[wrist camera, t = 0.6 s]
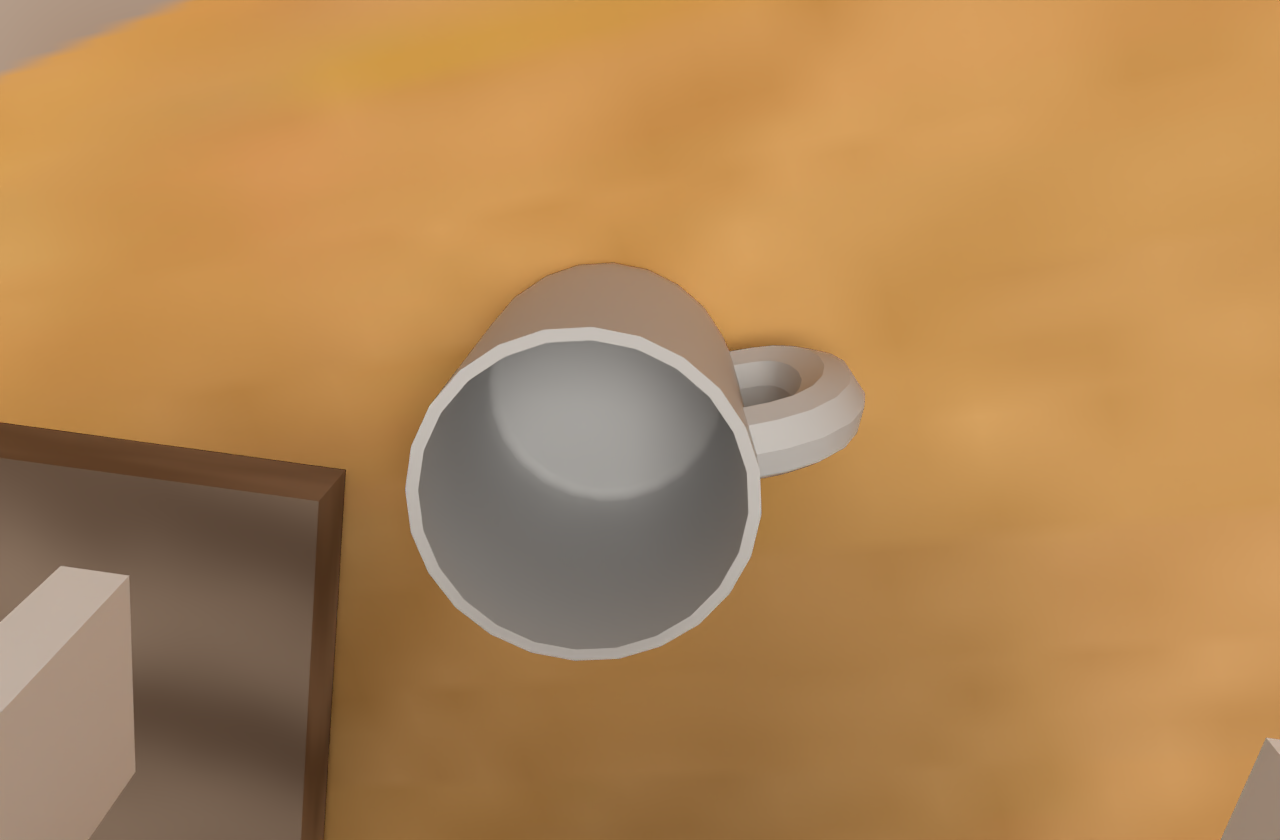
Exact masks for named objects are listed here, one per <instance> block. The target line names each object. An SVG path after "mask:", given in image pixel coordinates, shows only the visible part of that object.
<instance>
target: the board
mask: <svg viewBox="0 0 1280 840" xmlns="http://www.w3.org/2000/svg"><path fill="white" fill-rule="evenodd" d="M345 471H346V470H342V469H334V468H327V467H320V466H313V465H305V464H298V463H291V462H283V461H276V460H269V459H261V458H254V457H247V456H240V455H232V454H225V453H218V452H210V451H203V450H196V449H188V448H181V447H174V446H167V445H159V444H152V443H145V442H137V441H130V440H123V439H115V438H108V437H101V436H94V435H86V434H79V433H72V432H64V431H57V430H50V429H42V428H35V427H28V426H21V425H13V424H6V423H0V622H1V621H2V620H3V619H4V618H5V617H6V616H7V615H8V614H9V613H11V612H12V611H13V610H14V609H15V608H16V607H17V606H18V605H19V604H20V603H21V602H22V601H23V600H25V599H26V598H27V597H28V596H29V595H30V594H31V593H32V592H33V591H34V590H35V589H36V588H37V587H39V586H40V585H41V584H42V583H43V582H44V581H45V580H46V579H47V578H48V577H49V576H50V575H51V574H52V573H54V572H55V571H56V570H57V569H58V568H59V567H60V566H66V567H73V568H80V569H87V570H94V571H101V572H108V573H115V574H122V575H129V582H130V614H131V645H132V677H133V708H134V739H135V771H136V772H135V773H134V775H133V776H132V777H131V779H130V780H129V782H128V783H127V785H126V786H125V788H124V789H123V790H122V792H121V793H120V795H119V796H118V798H117V799H116V801H115V802H114V803H113V805H112V806H111V808H110V809H109V811H108V812H107V814H106V815H105V816H104V818H103V819H102V821H101V822H100V824H99V825H98V827H97V828H96V829H95V831H94V832H93V834H92V835H91V837H90V838H89V839H88V840H323V839H324V822H325V805H326V789H327V772H328V755H329V739H330V722H331V705H332V689H333V672H334V655H335V638H336V622H337V605H338V588H339V572H340V555H341V538H342V522H343V505H344V488H345Z"/></svg>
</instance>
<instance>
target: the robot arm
mask: <svg viewBox="0 0 1280 840" xmlns="http://www.w3.org/2000/svg"><path fill="white" fill-rule="evenodd" d="M135 772H136V771H135V739H134V708H133V677H132V645H131V614H130V582H129V575H122V574H115V573H108V572H101V571H94V570H87V569H80V568H73V567H66V566H60V567H59V568H58V569H57V570H56V571H55V572H54V573H52V574H51V575H50V576H49V577H48V578H47V579H46V580H45V581H44V582H43V583H42V584H41V585H40V586H39V587H37V588H36V589H35V590H34V591H33V592H32V593H31V594H30V595H29V596H28V597H27V598H26V599H25V600H23V601H22V602H21V603H20V604H19V605H18V606H17V607H16V608H15V609H14V610H13V611H12V612H11V613H9V614H8V615H7V616H6V617H5V618H4V619H3V620H2V621H1V622H0V840H88V839H89V838H90V837H91V835H92V834H93V832H94V831H95V829H96V828H97V827H98V825H99V824H100V822H101V821H102V819H103V818H104V816H105V815H106V814H107V812H108V811H109V809H110V808H111V806H112V805H113V803H114V802H115V801H116V799H117V798H118V796H119V795H120V793H121V792H122V790H123V789H124V788H125V786H126V785H127V783H128V782H129V780H130V779H131V777H132V776H133V775H134V773H135ZM1221 840H1280V740H1278V739H1271V738H1266V739H1265V742H1264V744H1263V746H1262V748H1261V751H1260V753H1259V755H1258V757H1257V760H1256V762H1255V764H1254V766H1253V769H1252V771H1251V773H1250V775H1249V777H1248V780H1247V782H1246V784H1245V786H1244V789H1243V791H1242V793H1241V795H1240V798H1239V800H1238V802H1237V804H1236V807H1235V809H1234V811H1233V813H1232V816H1231V818H1230V820H1229V822H1228V825H1227V827H1226V829H1225V831H1224V834H1223V836H1222V838H1221Z"/></svg>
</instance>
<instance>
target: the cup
mask: <svg viewBox="0 0 1280 840" xmlns="http://www.w3.org/2000/svg"><path fill="white" fill-rule="evenodd" d="M864 403H865V393H864V391H863V390H862V388H861V386H860V385H859V383H858V382H857V380H856V379H855V377H854V376H853V374H852V372H851V371H850V369H849V368H848V366H847V365H846V363H845V362H844V361H843V360H841V359H839V358H838V357H836V356H834V355H832V354H831V353H826V352H822V351H817V350H813V349H807V348H801V347H795V346H774V345H773V346H763V347H753V348H747V349H741V350H735V351H729V349H728V347H727V345H726V343H725V340H724V338H723V336H722V334H721V333H720V331H719V330H718V328H717V327H716V325H715V323H714V322H713V320H712V319H711V317H710V316H709V314H708V313H707V311H706V310H705V308H704V307H703V306H702V305H701V304H700V303H698V302H697V301H696V300H695V299H694V298H693V297H692V296H690V295H689V294H688V293H687V292H686V291H685V290H684V289H682V288H681V287H680V286H679V285H677V284H675V283H673V282H671V281H669V280H667V279H665V278H663V277H661V276H659V275H657V274H655V273H653V272H651V271H649V270H647V269H642V268H637V267H632V266H627V265H622V264H617V263H602V264H586V265H577V266H574V267H571V268H569V269H566V270H563V271H560V272H557V273H554V274H551V275H548V276H546V277H544V278H543V279H541V280H540V281H538V282H537V283H535V284H534V285H532V286H531V287H530V288H528V289H527V290H525V291H524V292H522V293H521V294H519V295H518V296H516V297H515V298H514V299H513V300H512V301H511V302H510V303H509V305H508V306H507V307H506V308H505V309H504V310H503V312H502V313H501V314H500V315H499V316H498V318H497V319H496V320H495V321H494V322H493V323H492V325H491V326H490V327H489V329H488V330H487V331H486V333H485V334H484V335H483V336H482V338H481V339H480V340H479V342H478V343H477V344H476V346H475V347H474V348H473V350H472V351H471V352H470V353H469V355H468V356H467V357H466V359H465V360H464V361H463V363H462V364H461V365H460V367H459V368H458V369H457V370H456V372H455V373H454V374H453V376H452V377H451V378H450V380H449V381H448V382H447V384H446V385H445V386H444V388H443V389H442V390H441V391H440V393H439V394H438V395H437V397H436V398H435V399H434V401H433V402H432V403H431V405H430V406H429V408H428V410H427V413H426V415H425V417H424V419H423V421H422V424H421V426H420V428H419V430H418V432H417V435H416V437H415V439H414V441H413V443H412V446H411V451H410V458H409V466H408V473H407V480H406V487H405V492H406V500H407V507H408V514H409V522H410V529H411V534H412V536H413V538H414V541H415V543H416V545H417V548H418V550H419V552H420V555H421V557H422V559H423V561H424V564H425V566H426V568H427V571H428V573H429V574H430V575H431V577H432V578H433V579H434V581H435V582H436V583H437V584H438V586H439V587H440V588H441V589H442V591H443V592H444V593H445V595H446V596H447V597H448V598H449V600H450V601H451V602H452V604H453V605H454V606H455V607H456V608H457V609H458V610H460V611H461V612H462V613H463V614H465V615H466V616H467V617H469V618H470V619H471V620H473V621H474V622H475V623H476V624H478V625H479V626H480V627H482V628H483V629H484V630H486V631H487V632H488V633H489V634H491V635H493V636H495V637H498V638H500V639H502V640H504V641H507V642H509V643H511V644H513V645H515V646H518V647H520V648H522V649H524V650H527V651H529V652H531V653H536V654H542V655H547V656H552V657H558V658H563V659H569V660H574V661H578V660H601V659H620V658H623V657H627V656H630V655H633V654H637V653H640V652H643V651H647V650H650V649H654V648H657V647H660V646H663V645H664V644H666V643H668V642H669V641H671V640H673V639H675V638H676V637H678V636H680V635H682V634H683V633H685V632H687V631H688V630H690V629H692V628H694V627H695V626H697V625H699V624H700V623H701V622H702V621H703V620H704V619H705V618H706V617H707V616H708V615H709V614H710V613H711V612H712V611H713V610H714V609H715V608H716V607H717V606H718V605H719V604H720V603H721V602H722V601H723V600H724V599H725V598H726V597H727V596H728V595H729V594H730V592H731V590H732V589H733V587H734V585H735V583H736V582H737V580H738V578H739V576H740V575H741V573H742V571H743V569H744V568H745V566H746V564H747V562H748V561H749V559H750V557H751V555H752V550H753V546H754V542H755V538H756V534H757V530H758V526H759V522H760V518H761V487H760V479H761V478H766V477H771V476H776V475H781V474H785V473H788V472H791V471H795V470H798V469H801V468H804V467H807V466H810V465H812V464H815V463H817V462H820V461H821V460H823V459H825V458H827V457H829V456H831V455H832V454H834V453H836V452H838V451H840V450H841V449H843V448H845V447H846V446H847V444H848V443H849V442H850V441H851V439H852V438H853V437H854V436H855V435H856V433H857V431H858V427H859V424H860V420H861V417H862V413H863V410H864Z"/></svg>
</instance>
